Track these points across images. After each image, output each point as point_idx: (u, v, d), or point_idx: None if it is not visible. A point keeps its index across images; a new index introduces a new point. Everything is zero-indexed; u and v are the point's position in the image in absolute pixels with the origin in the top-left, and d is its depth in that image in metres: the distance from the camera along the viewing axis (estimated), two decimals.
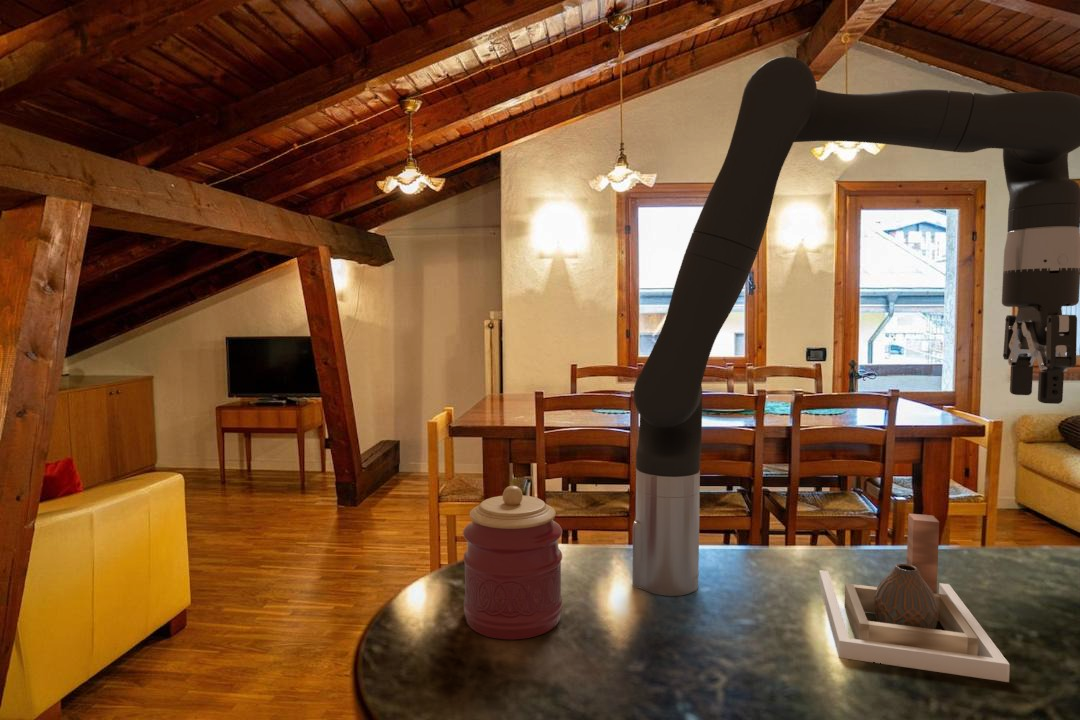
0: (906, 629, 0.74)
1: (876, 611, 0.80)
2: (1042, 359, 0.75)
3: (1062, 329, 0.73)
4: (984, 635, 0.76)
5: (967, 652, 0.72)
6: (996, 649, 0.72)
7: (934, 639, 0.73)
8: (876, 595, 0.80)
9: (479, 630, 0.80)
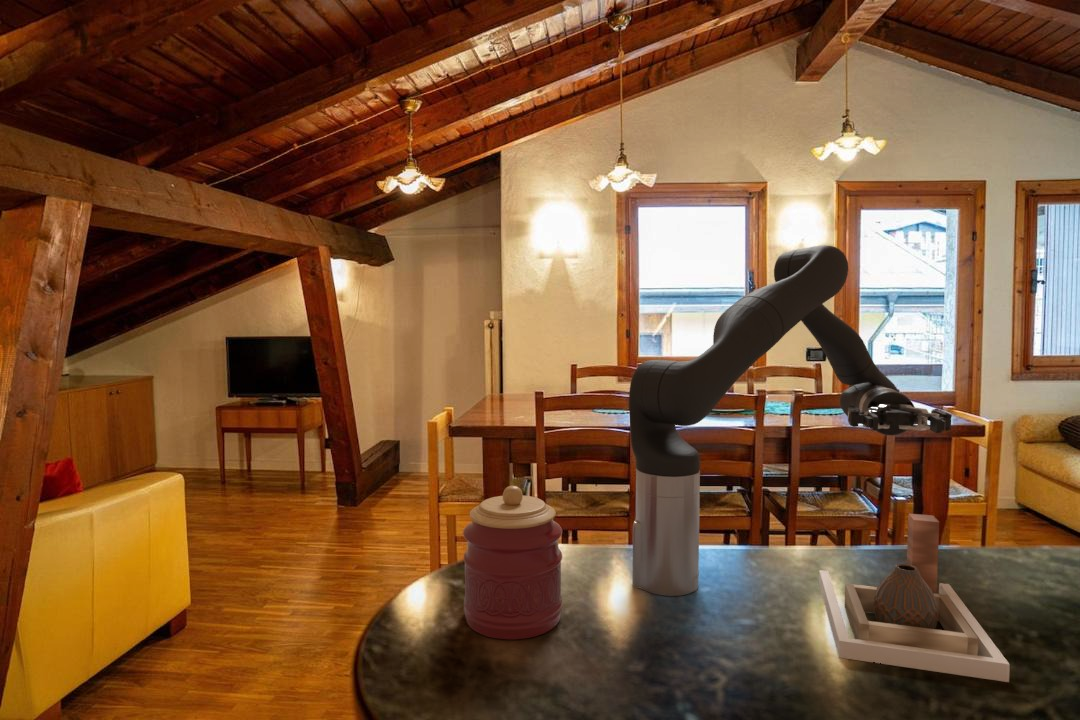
0: (906, 629, 0.74)
1: (876, 611, 0.80)
2: None
3: None
4: (984, 635, 0.76)
5: (967, 652, 0.72)
6: (996, 649, 0.72)
7: (934, 639, 0.73)
8: (876, 595, 0.80)
9: (479, 630, 0.80)
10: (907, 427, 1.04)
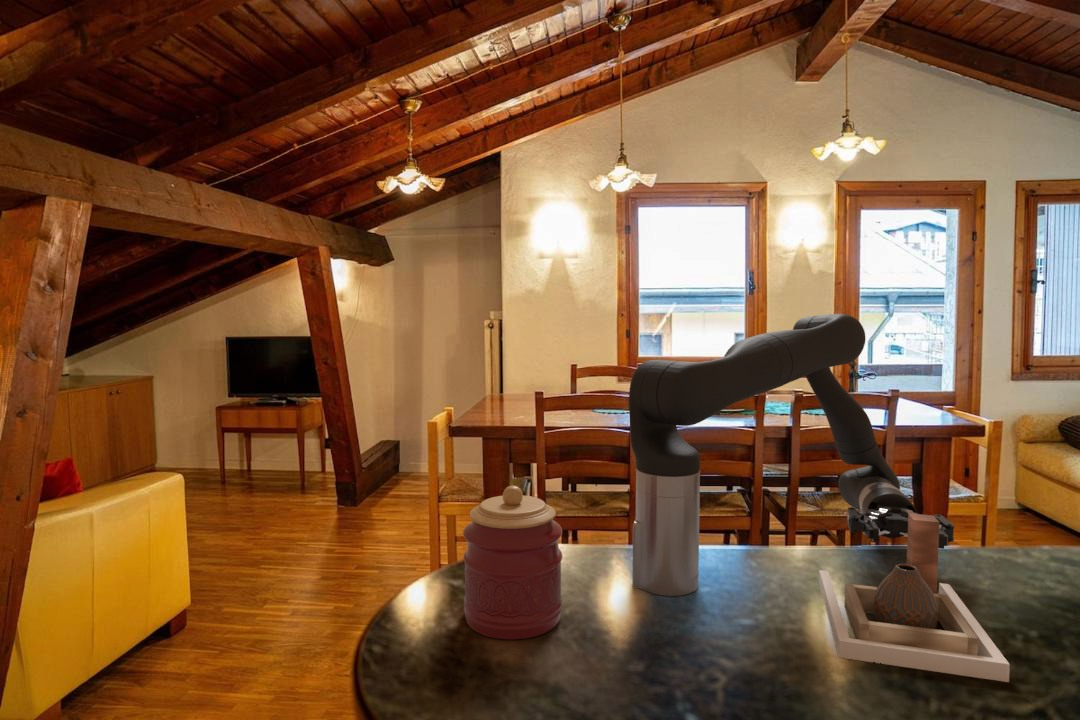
0: (906, 629, 0.74)
1: (876, 611, 0.80)
2: None
3: None
4: (984, 635, 0.76)
5: (967, 652, 0.72)
6: (996, 649, 0.72)
7: (934, 639, 0.73)
8: (876, 595, 0.80)
9: (479, 630, 0.80)
10: None
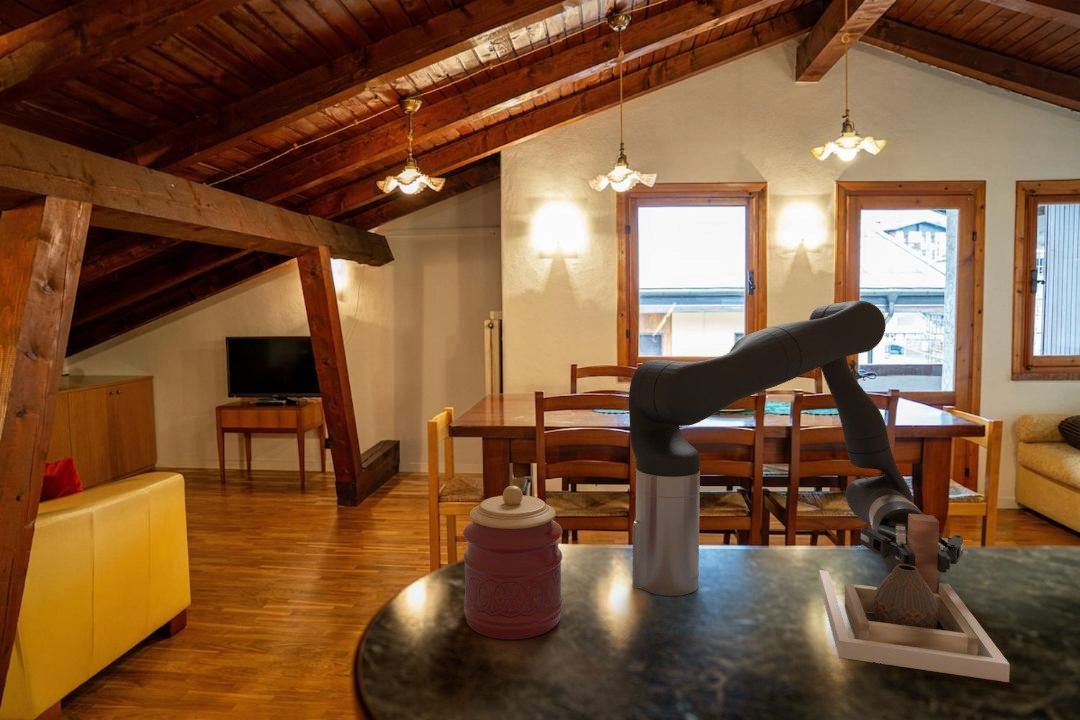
0: (906, 629, 0.74)
1: (876, 611, 0.80)
2: (941, 544, 0.88)
3: (961, 546, 0.90)
4: (984, 635, 0.76)
5: (967, 652, 0.72)
6: (996, 649, 0.72)
7: (934, 639, 0.73)
8: (876, 595, 0.80)
9: (479, 630, 0.80)
10: None
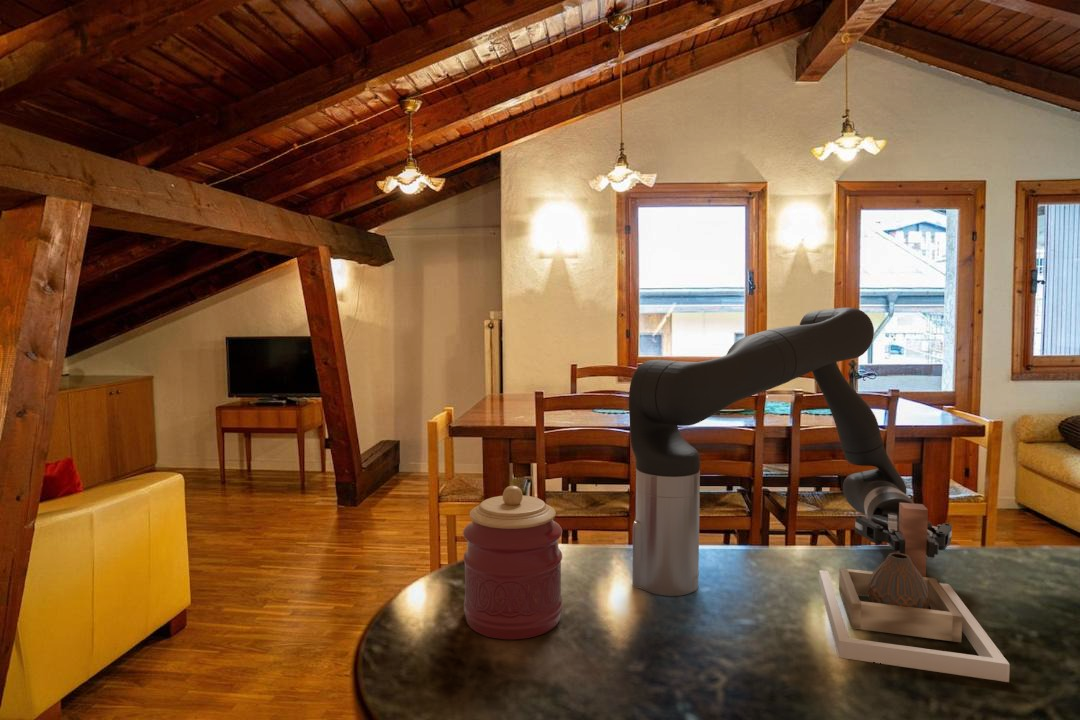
0: (895, 608, 0.79)
1: (870, 597, 0.83)
2: (930, 531, 0.94)
3: (949, 534, 0.96)
4: (984, 635, 0.76)
5: (952, 630, 0.78)
6: (996, 649, 0.72)
7: (921, 617, 0.78)
8: (870, 582, 0.84)
9: (479, 630, 0.80)
10: None
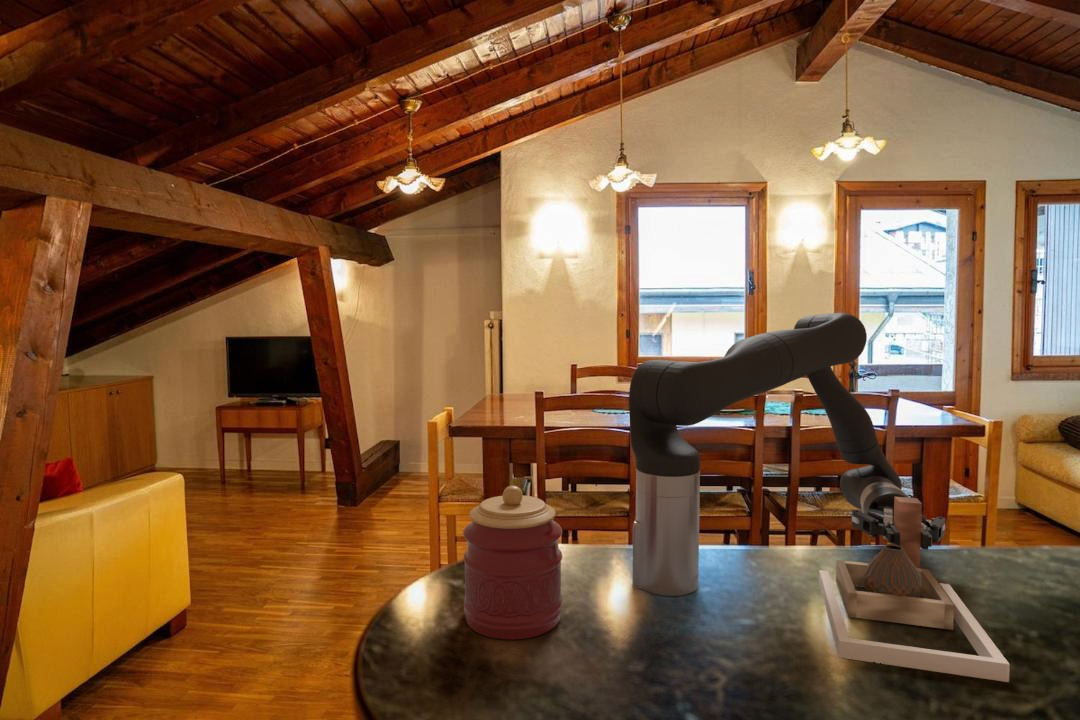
0: (890, 597, 0.82)
1: (866, 587, 0.86)
2: (924, 524, 0.97)
3: (943, 527, 0.99)
4: (984, 635, 0.76)
5: (944, 617, 0.81)
6: (996, 649, 0.72)
7: (915, 606, 0.82)
8: (866, 573, 0.87)
9: (479, 630, 0.80)
10: None
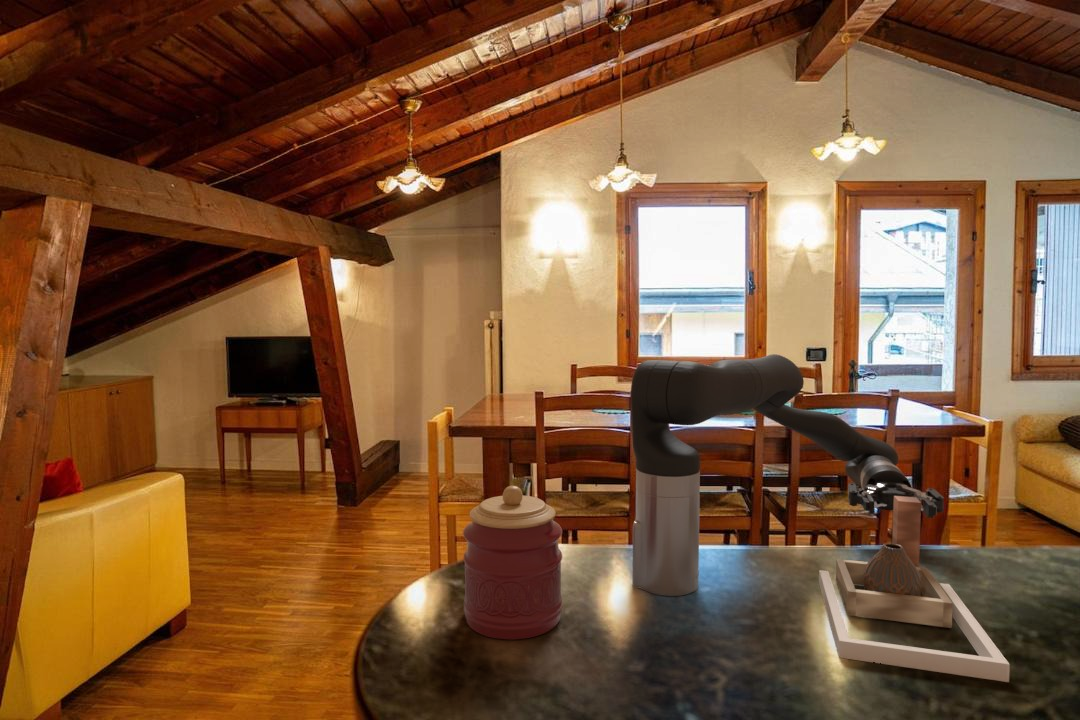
0: (889, 596, 0.83)
1: (865, 586, 0.87)
2: (927, 496, 1.08)
3: None
4: (984, 635, 0.76)
5: (943, 616, 0.81)
6: (996, 649, 0.72)
7: (914, 604, 0.82)
8: (865, 572, 0.87)
9: (479, 630, 0.80)
10: None
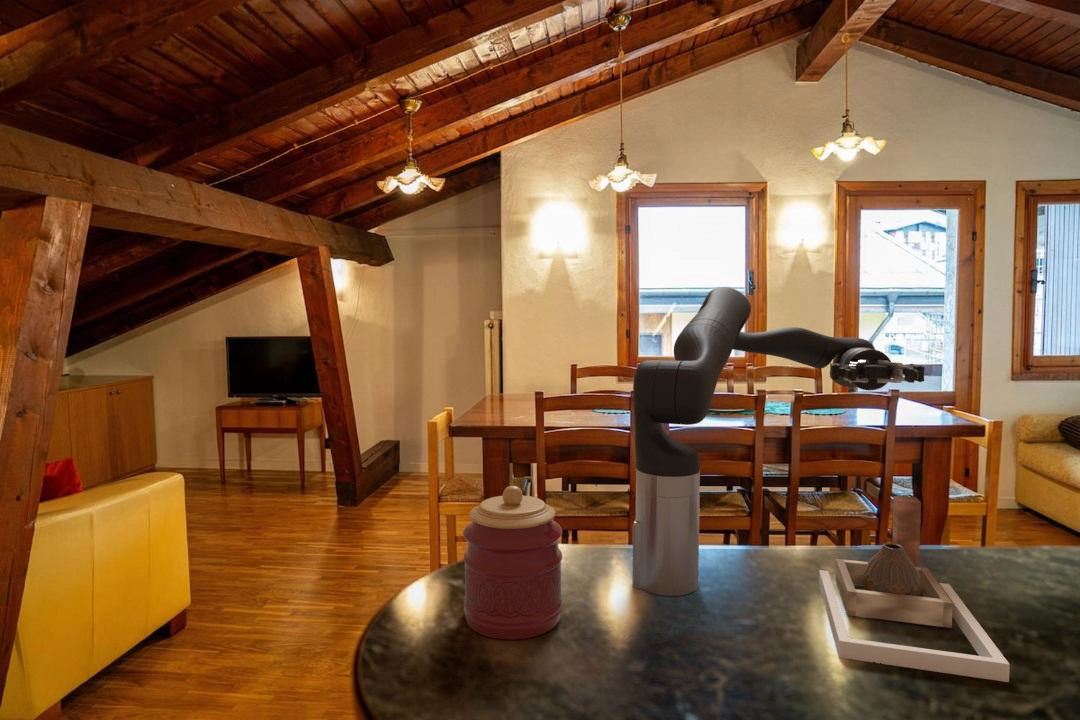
0: (889, 596, 0.83)
1: (865, 586, 0.87)
2: None
3: None
4: (984, 635, 0.76)
5: (943, 616, 0.81)
6: (996, 649, 0.72)
7: (914, 604, 0.82)
8: (865, 572, 0.87)
9: (479, 630, 0.80)
10: (884, 380, 1.11)
